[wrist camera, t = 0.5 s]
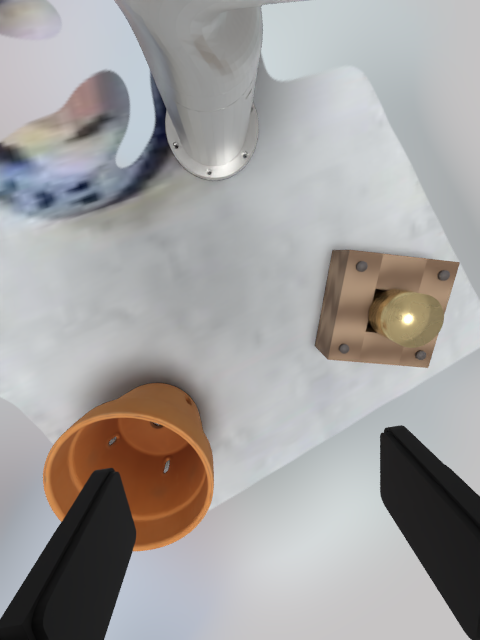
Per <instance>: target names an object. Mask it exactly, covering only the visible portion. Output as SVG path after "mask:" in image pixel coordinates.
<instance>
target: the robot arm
mask: <svg viewBox="0 0 480 640" xmlns="http://www.w3.org/2000/svg"><path fill="white" fill-rule="evenodd" d="M296 1H307V0H115V2H116V3H117V5H118V6H119V8H120V9H121V11H122V12H123V14H124V15H125V17H126V19H127V20H128V22H129V24H130V26H131V28H132V30H133V32H134V34H135V36H136V38H137V40H138V42H139V45H140V47H141V49H142V51H143V53H144V56H145V58H146V61H147V63H148V65H149V68H150V70H151V73H152V75H153V78H154V80H155V82H156V85H157V87H158V90H159V92H160V94H161V97H162V99H163V102H164V104H165V106H166V109H167V110H166V119H165V126H166V135H167V139H168V143H169V145H170V147H171V150H172V152H173V154H174V156H175V157H176V159H177V160H178V161H179V163H180V164H181V165H182V166H183V167H184V168H185V169H186V170H187V171H189V172H190V173H192V174H193V175H195V176H197V177H200V178H202V179H207V180H222V179H226V178H229V177H231V176H233V175H235V174H237V173H238V172H239V171H241V170H242V169H243V168H244V167H245V166H246V164H247V163H248V162H249V160H250V158H251V157H252V155H253V153H254V150H255V147H256V144H257V140H258V131H259V126H258V116H257V112H256V108H255V106H254V103H253V95H254V89H255V83H256V77H257V71H258V65H259V59H260V53H261V47H262V34H263V24H262V12H261V6H262V5H263V4H275V3H285V2H296ZM176 146H178V149H175V147H176ZM244 155H245V156H246V158H243V156H244ZM209 172H211V175H208V173H209ZM380 473H381V475H380V486H381V487H380V492H381V498H382V501H383V503H384V505H385V507H386V508H387V510H388V511H389V513H390V515H391V516H392V518H393V519H394V521H395V523H396V524H397V526H398V527H399V529H400V530H401V532H402V534H403V535H404V537H405V538H406V540H407V541H408V543H409V545H410V546H411V548H412V549H413V551H414V553H415V554H416V556H417V557H418V559H419V560H420V562H421V564H422V565H423V567H424V568H425V570H426V571H427V573H428V575H429V576H430V578H431V579H432V581H433V582H434V584H435V586H436V587H437V589H438V591H439V592H440V594H441V595H442V597H443V598H444V600H445V601H446V603H447V605H448V606H449V608H450V609H451V611H452V613H453V614H454V616H455V617H456V619H457V621H458V622H459V624H460V625H461V627H462V628H463V630H464V631H465V633H466V634H467V635H468V637H469V638H470V639H472V640H480V496H479V495H478V494H476V493H475V492H474V491H473V490H472V489H471V488H470V487H469V486H468V485H467V484H466V483H465V482H464V481H463V480H462V479H461V478H460V477H459V476H457V475H456V474H455V473H454V472H453V471H452V470H451V469H450V468H449V467H447V466H446V465H444V464H443V463H442V462H441V461H440V460H439V459H438V458H437V457H436V456H435V455H434V454H433V453H432V452H430V451H429V449H427V448H426V447H425V446H424V445H423V444H422V443H421V442H420V441H419V440H418V439H417V438H416V437H415V436H414V435H413V434H412V433H411V432H410V431H409V430H407V428H405V427H404V426H395V427H388V428H385V430H384V433H381V435H380ZM135 541H136V528H135V524H134V521H133V518H132V514H131V511H130V507H129V504H128V500H127V497H126V494H125V490H124V487H123V483H122V480H121V476H120V474H119V472H115V470H114V469H113V468H107V469H100V470H95V471H94V472H93V473H92V474H91V476H90V477H89V479H88V481H87V482H86V484H85V485H84V487H83V489H82V490H81V492H80V493H79V495H78V497H77V498H76V500H75V501H74V503H73V505H72V506H71V508H70V509H69V511H68V513H67V514H66V516H65V517H64V519H63V521H62V522H61V524H60V525H59V527H58V528H57V530H56V531H55V533H54V534H53V536H52V538H51V539H50V541H49V542H48V544H47V545H46V547H45V549H44V550H43V552H42V554H41V555H40V557H39V558H38V560H37V562H36V563H35V565H34V566H33V568H32V569H31V571H30V573H29V574H28V576H27V577H26V579H25V581H24V582H23V584H22V586H21V587H20V589H19V590H18V592H17V593H16V595H15V597H14V598H13V600H12V601H11V603H10V605H9V606H8V608H7V609H6V611H5V613H4V614H3V616H2V617H1V619H0V640H104V638H105V635H106V631H107V628H108V625H109V622H110V619H111V616H112V613H113V610H114V607H115V604H116V600H117V597H118V594H119V591H120V588H121V585H122V582H123V579H124V576H125V573H126V570H127V567H128V563H129V560H130V557H131V554H132V551H133V548H134V545H135Z"/></svg>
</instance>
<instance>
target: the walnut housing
mask: <svg viewBox="0 0 480 640" xmlns="http://www.w3.org/2000/svg"><path fill="white" fill-rule="evenodd" d="M459 263H460V262H451V261H443V260H434V259H425V258H416V257H408V256H399V255H390V254H381V253H373V252H364V251H355V250H332V256H331V261H330V267H329V272H328V277H327V283H326V288H325V294H324V299H323V305H322V310H321V315H320V321H319V326H318V332H317V337H316V342H315V347H316V348H317V349H318V350H319V351H320V352H321V353H322V354H323V355H324V356H325V357H326V358H327V359H328V360H340V361H352V362H364V363H376V364H388V365H401V366H413V367H425V368H428V366H429V363H430V360H431V356H432V353H433V350H434V346H435V343H436V340H437V336H438V334H437V336H436V337H435V338H434V339H433V340H431V341H430V342H429V343H427V344H425V345H423V346H420V347H416V348H407V347H403V346H401V345H399V344H397V343H395V342H393V341H392V340H390V339H388V338H386V337H384V336H382V335H380V334H378V333H377V332H375V331H374V330H373V328H372V327H371V325H370V324H369V323H368V319H369V310H370V307H371V304H372V302H373V297H374V293H375V289H379V290H384V291H387V290H390V289H402V290H407V291H411V292H416V293H421V294H426V295H430V296H432V297H434V298H435V299H437V300H438V301H439V303H440V304H441V306H442V308H443V312H444V313H445V310H446V307H447V303H448V300H449V297H450V293H451V290H452V287H453V283H454V280H455V277H456V273H457V270H458V267H459Z"/></svg>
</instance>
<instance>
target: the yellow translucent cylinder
mask: <svg viewBox="0 0 480 640" xmlns="http://www.w3.org/2000/svg"><path fill="white" fill-rule="evenodd" d="M443 321H444V312H443V308H442V306H441V304H440V303H439V301H438V300H437V299H435V298H434V297H432V296H430V295H426V294H421V293H416V292H411V291H407V290H402V289H390V290H387V291H384V290H379V289H375V293H374V297H373V302H372V304H371V307H370V310H369V319H368V323H369V324H370V325H371V327H372V328H373V330H374V331H375V332H377V333H378V334H380V335H382V336H384V337H386V338H388V339H390V340H392V341H393V342H395V343H397V344H399V345H401V346H403V347H407V348H416V347H420V346H423V345H425V344H427V343H429V342H430V341H431V340H433V339H434V338H435V337H436V336H437V334H438V333H439V331H440V329H441V327H442V325H443Z"/></svg>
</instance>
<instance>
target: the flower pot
mask: <svg viewBox="0 0 480 640" xmlns="http://www.w3.org/2000/svg"><path fill="white" fill-rule="evenodd" d="M152 422H154V423H157V424H160V425H162V426H156V425H154V424H153V423H152ZM115 436H116V440H115V442H114V443H113V444H111V445H109V441H110V440H111V439H113V438H114V437H115ZM168 460H170V465H169V469H168V471H167V472H166V473H164V468H165V464H166V462H167V461H168ZM107 468H113V469H114V470H115V472H119V474H120V476H121V480H122V483H123V487H124V490H125V494H126V497H127V500H128V504H129V507H130V511H131V514H132V518H133V521H134V524H135V528H136V541H135V545H134V548H133V551H144V550H151V549H156V548H160V547H163V546H166V545H169V544H171V543H173V542H176V541H177V540H179V539H181V538H183V537H184V536H185V535H187V534H188V533H190V532H191V531H192V530H193V529H194V528H195V527H196V526H197V525H198V524H199V523H200V522H201V520H202V519H203V518H204V516H205V515H206V513H207V511H208V509H209V506H210V504H211V501H212V496H213V488H214V472H213V455H212V450H211V447H210V444H209V441H208V439H207V437H206V435H205V434H204V432H203V428H202V423H201V419H200V415H199V412H198V409H197V407H196V405H195V403H194V401H193V400H192V399H191V398H190V396H189V395H187V394H186V393H185V392H184V391H182V390H181V389H179V388H177V387H175V386H172V385H169V384H164V383H150V384H145V385H142V386H139V387H137V388H135V389H133V390H131V391H130V392H128V393H126V394H125V395H123V396H121V397H120V398H118V399H116V400H113V401H109V402H106V403H104V404H102V405H99V406H97V407H95V408H94V409H92V410H91V411H89V412H88V413H86V414H85V415H84V416H83V417H82V418H80V419H79V420H78V421H77V422H75V423H74V424H73V425H72V426H71V427H70V428H69V429H68V430H67V431H66V432H65V433H64V434H62V435H61V437H60V438H59V439H58V440H57V441H56V442H55V444H54V445H53V447H52V449H51V450H50V452H49V454H48V456H47V459H46V462H45V466H44V471H43V483H44V490H45V494H46V497H47V500H48V502H49V504H50V506H51V508H52V510H53V511H54V513H55V514H56V516H57V517H58V519H59V520H60V521H61V522H62V521H63V519H64V517H65V516H66V514H67V513H68V511H69V509H70V508H71V506H72V505H73V503H74V501H75V500H76V498H77V497H78V495H79V493H80V492H81V490H82V489H83V487H84V485H85V484H86V482H87V481H88V479H89V477H90V476H91V474H92V473H93V472H94V471H95V470H100V469H107Z"/></svg>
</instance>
